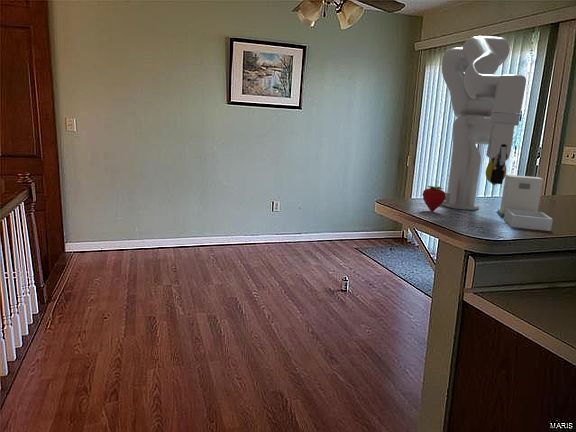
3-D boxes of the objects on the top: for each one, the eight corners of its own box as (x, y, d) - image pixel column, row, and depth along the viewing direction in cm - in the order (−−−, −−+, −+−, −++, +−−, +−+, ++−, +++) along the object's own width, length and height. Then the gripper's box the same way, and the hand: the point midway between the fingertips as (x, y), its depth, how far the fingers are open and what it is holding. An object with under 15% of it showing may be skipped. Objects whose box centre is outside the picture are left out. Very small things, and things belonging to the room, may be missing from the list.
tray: (510, 226, 135) (512, 215, 134) (503, 219, 145) (505, 208, 144) (550, 231, 133) (552, 219, 132) (540, 223, 143) (542, 212, 142)
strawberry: (425, 208, 156) (429, 178, 154) (446, 212, 152) (450, 182, 149) (417, 210, 152) (420, 180, 150) (438, 214, 147) (442, 183, 145)
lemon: (480, 183, 139) (484, 156, 137) (498, 183, 140) (502, 157, 138) (489, 186, 134) (493, 159, 132) (507, 187, 134) (512, 160, 132)
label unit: (501, 217, 148) (507, 176, 145) (497, 213, 155) (503, 174, 152) (538, 221, 146) (546, 179, 143) (532, 216, 152) (539, 177, 150)
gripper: (486, 117, 141) (476, 176, 146) (496, 119, 125) (485, 185, 129) (512, 119, 139) (502, 178, 144) (526, 121, 123) (513, 188, 128)
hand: (494, 181), depth 137 cm, fingers closed on lemon, 5 cm apart
